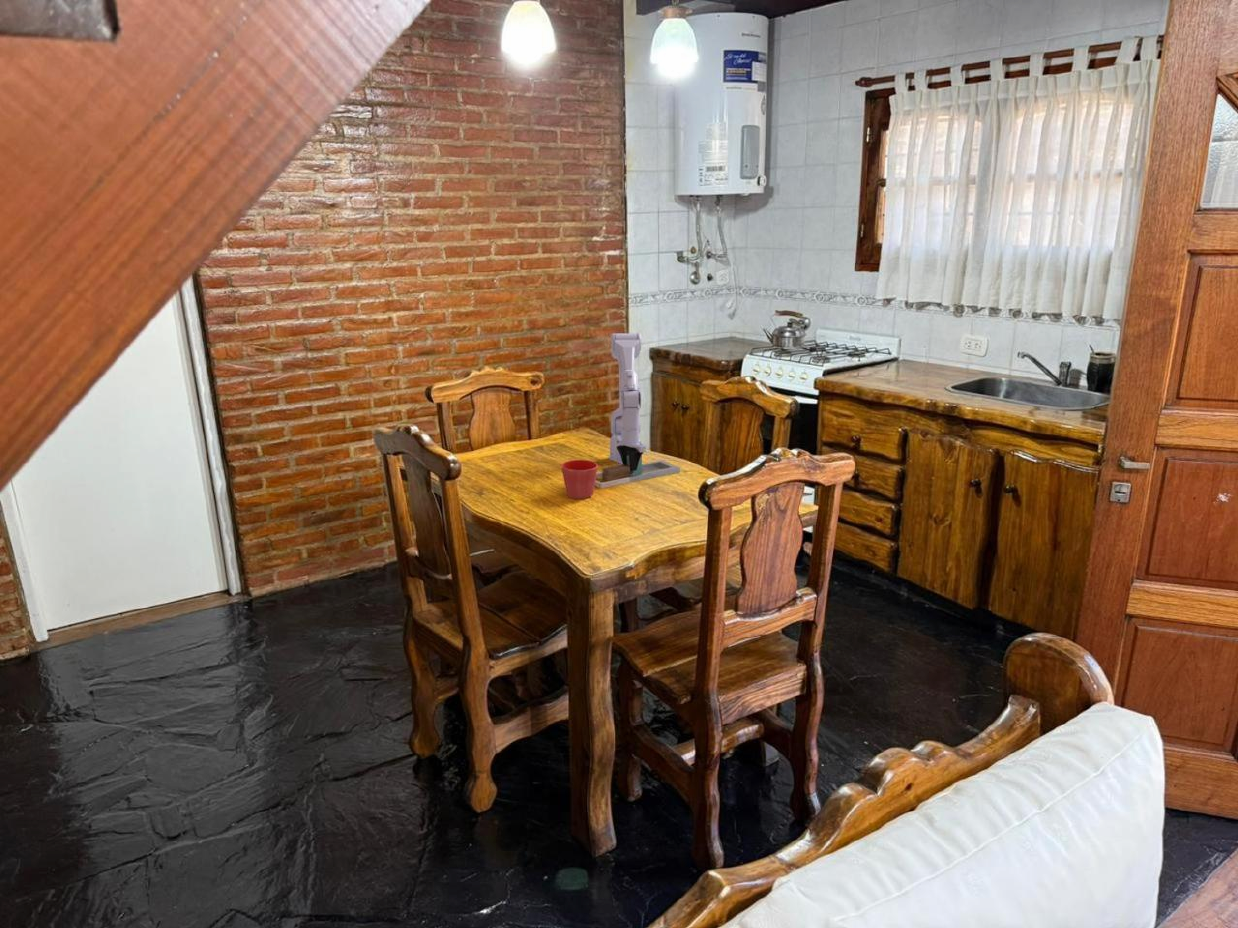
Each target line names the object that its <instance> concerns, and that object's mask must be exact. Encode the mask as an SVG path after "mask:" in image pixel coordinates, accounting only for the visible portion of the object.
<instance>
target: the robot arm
mask: <svg viewBox="0 0 1238 928" xmlns="http://www.w3.org/2000/svg"><path fill="white" fill-rule="evenodd" d="M610 348H611V349H610V350H611V358H613V359H615V360H617V364H618V383H619V384H618V391H619V392H618V396H619V398H618V401H619V403H618V404H619V407H617V408H616V409H615V410H614V411H613V412H612V413H611V420H610V433H611V435H612V436H611V438H610V440H609V456H607V459H608V460H611V461H614V462H615V463H617V464H619V465H620V464H624V465H627V456H628V457H629V463H630V470H631V471H634V470H637V467H638V463H639V460H640V458H641V456H643V454H644V453H645V452H647V451H646V449H647V447H646V445H644V444H643V443H642V442H641V441H640V433H641V419H640V418H641V417H640V416H641V415H640V409H642V408H641V407H642V393H641V387H639V386H640V385H639V375H638V373H637V372H636V371H635V359H637V358H639V357H640V354H641V349H642V335H641V333H640V332H635V333H633V332H632V333H631V332H630V333H626V332H625V333H623V332H621V333H615V332H612V334H611V335H610ZM620 416H621V417H620Z"/></svg>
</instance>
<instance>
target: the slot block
mask: <svg viewBox="0 0 1238 928" xmlns="http://www.w3.org/2000/svg"><path fill="white" fill-rule="evenodd" d="M679 473H681V467H680V466H678V465H675V464H673V463H670V462H668V461H665V460H663V459H661V460H656V461H655V460H654V461H652V462H646V463H642V473H640V474H635V475H630V476H627V478H628V477H629V478H630V483H634V482H639V481H640V482H641V481H644V480H649V479H654V478H660V477H664V476H669V475H674V474H679Z"/></svg>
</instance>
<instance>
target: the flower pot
mask: <svg viewBox="0 0 1238 928" xmlns="http://www.w3.org/2000/svg"><path fill="white" fill-rule="evenodd" d="M598 467H599V466H598V463H596V462H594V461H592V460H587V459H574V460H573V459H572V460H569V461H568V460H567V461H565V462H564V463H562V464H561V473H562V477H563V481H564V486H565V490H566V494H567V497H568V498H570V499H574V500H586V499H589V498H591V497H592V496H593V494H594V489H595V480H596V479H597V478H596V473H598ZM596 481H597V480H596Z"/></svg>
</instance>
